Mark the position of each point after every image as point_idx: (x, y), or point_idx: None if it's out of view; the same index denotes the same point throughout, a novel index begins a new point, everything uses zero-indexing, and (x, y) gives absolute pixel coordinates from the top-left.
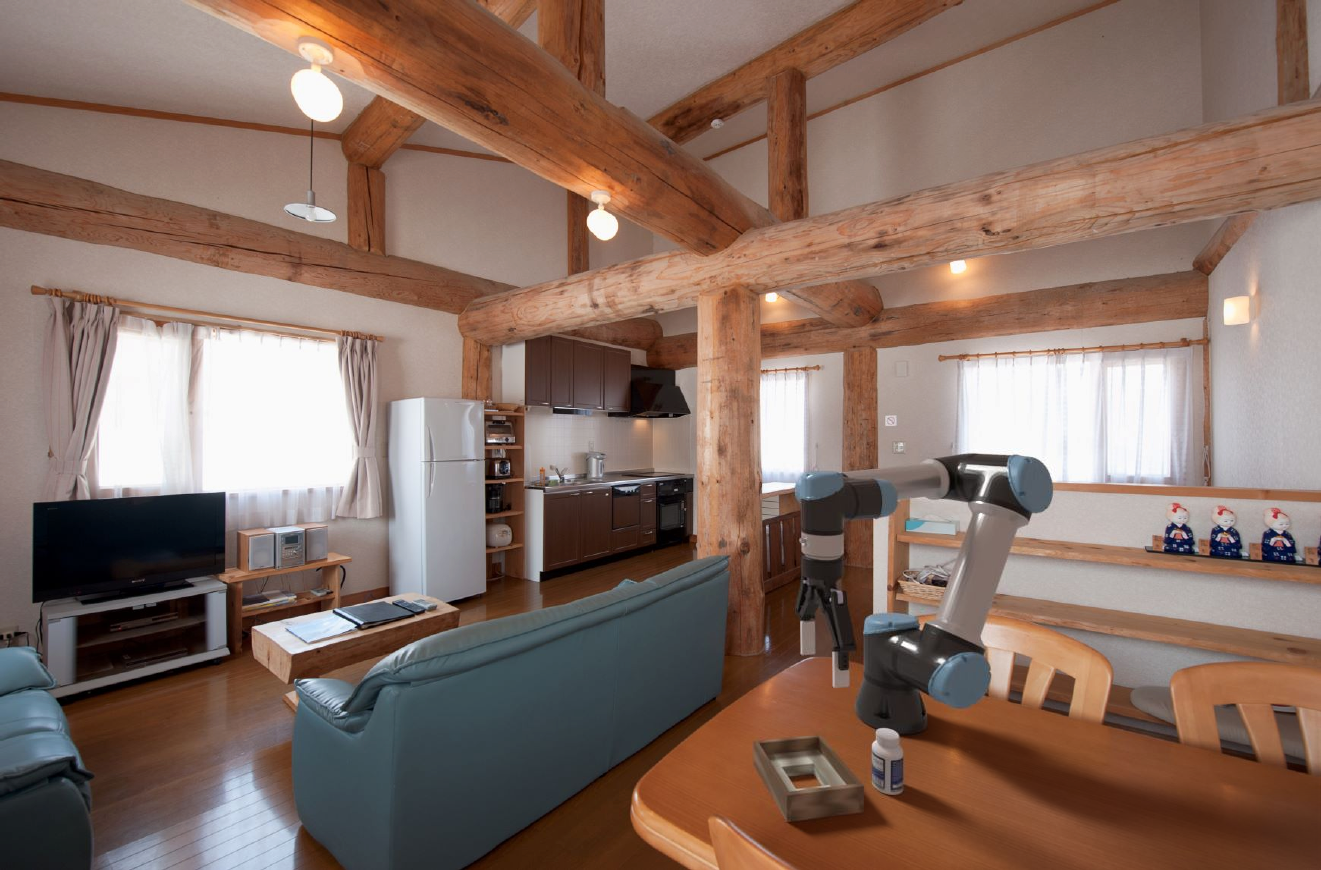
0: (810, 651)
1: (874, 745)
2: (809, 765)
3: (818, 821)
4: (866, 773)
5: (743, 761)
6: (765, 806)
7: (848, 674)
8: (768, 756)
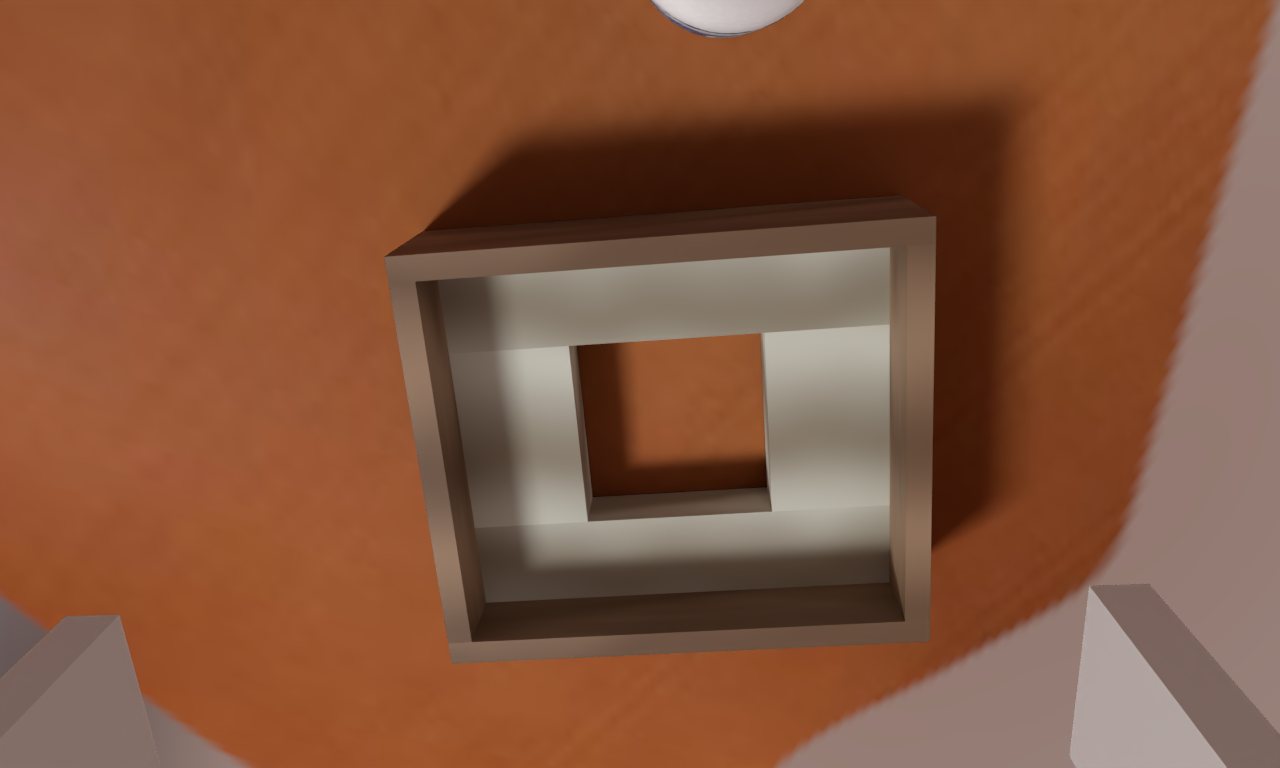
0: (109, 701)
1: (714, 15)
2: (571, 364)
3: None
4: (592, 15)
5: None
6: None
7: (1240, 701)
8: (492, 557)
